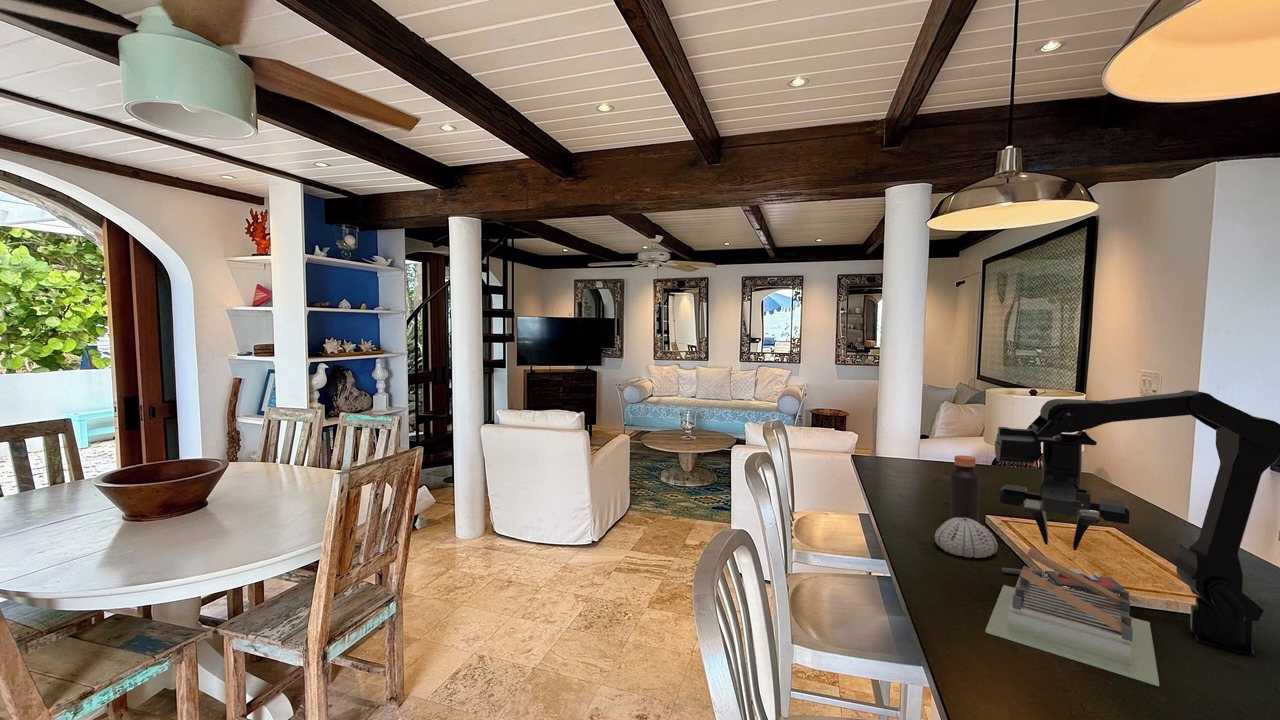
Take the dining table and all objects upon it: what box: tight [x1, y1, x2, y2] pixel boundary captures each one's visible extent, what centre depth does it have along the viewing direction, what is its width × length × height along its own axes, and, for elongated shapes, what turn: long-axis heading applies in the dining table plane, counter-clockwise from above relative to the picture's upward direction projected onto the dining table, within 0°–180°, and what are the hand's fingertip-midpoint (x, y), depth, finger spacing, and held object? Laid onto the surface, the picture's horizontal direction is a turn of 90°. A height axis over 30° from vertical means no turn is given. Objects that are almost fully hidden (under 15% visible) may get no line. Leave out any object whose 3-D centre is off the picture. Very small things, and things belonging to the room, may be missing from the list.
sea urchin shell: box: [934, 518, 999, 559], centre depth 128 cm, size 13×14×8 cm
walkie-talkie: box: [1001, 567, 1125, 597], centre depth 109 cm, size 9×4×20 cm
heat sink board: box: [985, 567, 1160, 687], centre depth 93 cm, size 22×22×7 cm
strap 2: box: [1019, 565, 1130, 633], centre depth 88 cm, size 15×3×1 cm, turn 48°
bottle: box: [949, 454, 980, 524], centre depth 142 cm, size 7×7×20 cm
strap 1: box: [1026, 546, 1127, 606], centre depth 96 cm, size 15×3×1 cm, turn 48°
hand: (1060, 546), depth 98 cm, fingers open, 4 cm apart
